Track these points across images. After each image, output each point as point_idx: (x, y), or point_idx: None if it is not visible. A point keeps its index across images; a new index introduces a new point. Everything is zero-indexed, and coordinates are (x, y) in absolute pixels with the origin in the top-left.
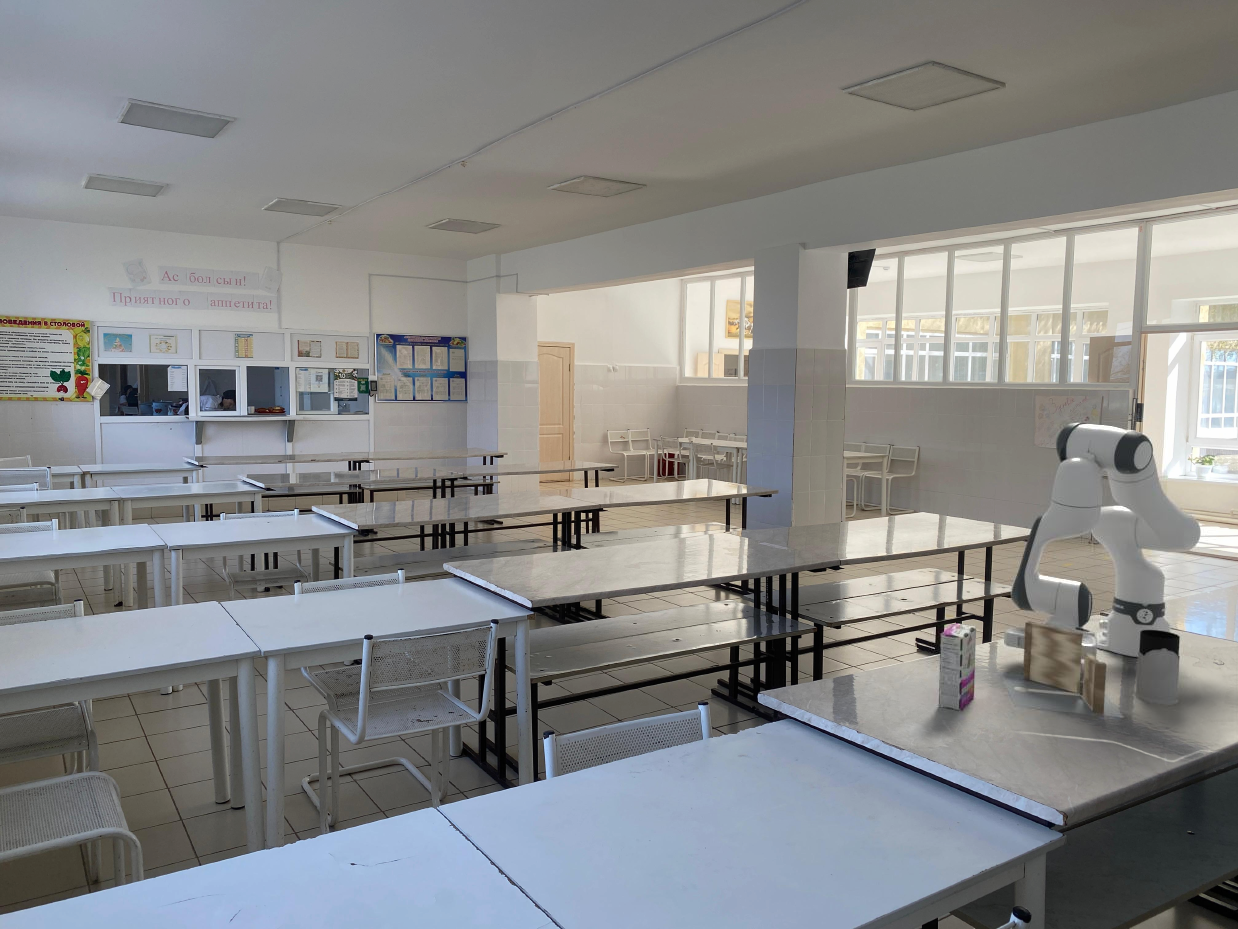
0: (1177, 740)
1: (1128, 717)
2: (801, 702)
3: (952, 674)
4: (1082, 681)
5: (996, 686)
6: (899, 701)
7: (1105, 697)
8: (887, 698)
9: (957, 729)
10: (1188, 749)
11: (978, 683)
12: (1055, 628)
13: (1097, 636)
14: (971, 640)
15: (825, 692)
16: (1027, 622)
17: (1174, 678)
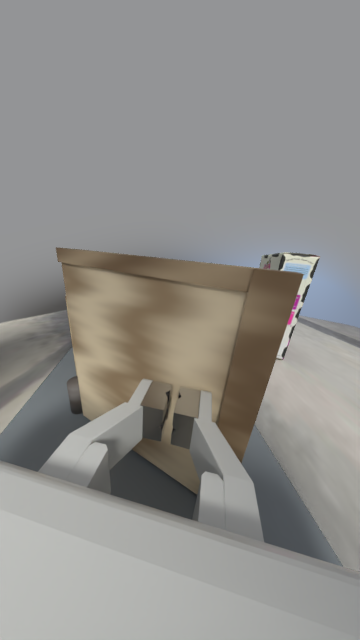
0: (53, 322)
1: (60, 351)
2: (335, 324)
3: None
4: (78, 384)
5: (259, 408)
6: (297, 335)
7: (26, 410)
8: (310, 338)
9: None
10: (60, 315)
11: (296, 413)
12: (144, 256)
13: None
14: (269, 268)
15: (354, 337)
16: (288, 271)
17: None
